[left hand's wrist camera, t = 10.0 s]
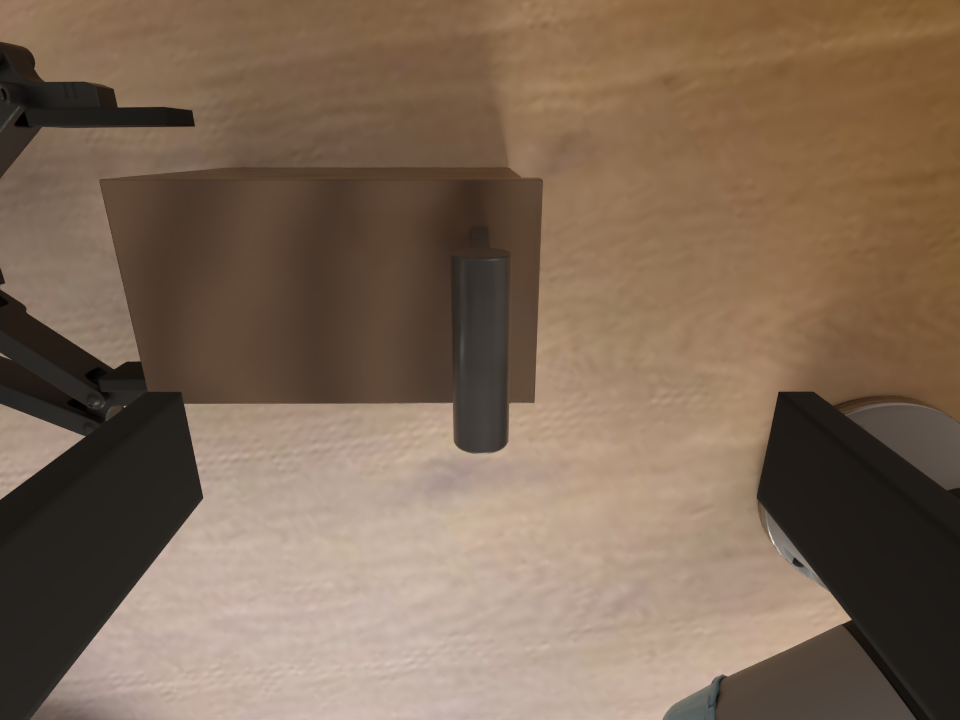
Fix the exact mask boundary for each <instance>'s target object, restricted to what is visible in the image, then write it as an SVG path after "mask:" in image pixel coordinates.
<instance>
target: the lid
mask: <svg viewBox="0 0 960 720" xmlns="http://www.w3.org/2000/svg"><path fill="white" fill-rule="evenodd" d="M100 186H101V190H102V194H103V199H104V203H105V207H106V212H107V216H108V220H109V225H110V229H111V233H112V238H113V242H114V246H115V251H116V255H117V260H118V264H119V268H120V273H121V277H122V281H123V286H124V290H125V294H126V299H127V303H128V307H129V312H130V316H131V320H132V325H133V329H134V333H135V338H136V342H137V346H138V351H139V355H140V360H141V364H142V368H143V373H144V377H145V381H146V386H147V390H148V392H181V393H182V398H183V403H184V404H448V403H453V426H454V442H455V444H456V446H457V447H458V448H459V449H461V450H463V451H465V452H469V453H473V454H489V453H494V452H497V451H499V450H501V449H503V448H504V447H505V446H506V445H507V443H508V431H509V403H534V400H535V374H536V347H537V321H538V295H539V268H540V242H541V216H542V189H543V180H542V179H540V178H110V179H101V180H100Z"/></svg>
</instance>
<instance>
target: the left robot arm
mask: <svg viewBox="0 0 960 720" xmlns="http://www.w3.org/2000/svg"><path fill="white" fill-rule="evenodd" d="M202 499H203V494H202V489H201V485H200V480H199V475H198V470H197V465H196V460H195V456H194V451H193V446H192V441H191V436H190V432H189V427H188V422H187V417H186V412H185V407H184V403H183V398H182V393H181V392H145V393H144V394H143V395H141V396H140V397H139V398H137V399H136V400H135V401H133V402H132V403H131V404H129V405H128V406H127V407H125V408H124V409H122V410H121V411H120V412H118V413H117V414H116V415H114V416H113V417H112V418H110V419H109V420H108V421H106V422H105V423H104V424H102V425H101V426H99V427H98V428H97V429H95V430H94V431H93V432H91V433H90V434H89V435H87V436H86V437H85V438H83V439H82V440H81V441H79V442H78V443H77V444H75V445H74V446H72V447H71V448H70V449H68V450H67V451H66V452H64V453H63V454H62V455H60V456H59V457H58V458H56V459H55V460H54V461H52V462H51V463H49V464H48V465H47V466H45V467H44V468H43V469H41V470H40V471H39V472H37V473H36V474H35V475H33V476H32V477H31V478H29V479H28V480H26V481H25V482H24V483H22V484H21V485H20V486H18V487H17V488H16V489H14V490H13V491H12V492H10V493H9V494H8V495H6V496H5V497H4V498H2V499H1V500H0V720H30V718H31V717H32V716H33V715H34V713H35V712H36V711H37V710H38V708H39V707H40V706H41V704H42V703H43V702H44V701H45V699H46V698H47V697H48V696H49V694H50V693H51V692H52V690H53V689H54V688H55V687H56V685H57V684H58V683H59V681H60V680H61V679H62V678H63V676H64V675H65V674H66V673H67V671H68V670H69V669H70V667H71V666H72V665H73V664H74V662H75V661H76V660H77V659H78V657H79V656H80V655H81V653H82V652H83V651H84V650H85V648H86V647H87V646H88V644H89V643H90V642H91V641H92V639H93V638H94V637H95V636H96V634H97V633H98V632H99V630H100V629H101V628H102V627H103V625H104V624H105V623H106V622H107V620H108V619H109V618H110V616H111V615H112V614H113V613H114V611H115V610H116V609H117V607H118V606H119V605H120V604H121V602H122V601H123V600H124V599H125V597H126V596H127V595H128V593H129V592H130V591H131V590H132V588H133V587H134V586H135V585H136V583H137V582H138V581H139V579H140V578H141V577H142V576H143V574H144V573H145V572H146V570H147V569H148V568H149V567H150V565H151V564H152V563H153V562H154V560H155V559H156V558H157V556H158V555H159V554H160V553H161V551H162V550H163V549H164V548H165V546H166V545H167V544H168V542H169V541H170V540H171V539H172V537H173V536H174V535H175V533H176V532H177V531H178V530H179V528H180V527H181V526H182V525H183V523H184V522H185V521H186V519H187V518H188V517H189V516H190V514H191V513H192V512H193V511H194V509H195V508H196V507H197V505H198V504H199V503H200V502H201V500H202ZM757 499H758V508H759V515H760V520H761V523H762V526H763V528H764V531H765V533H766V534H767V536H768V538H769V539H770V541H771V542H772V543H773V545H774V546H775V547H776V549H777V550H778V551H779V553H780V554H781V555H782V556H783V557H784V558H785V559H786V560H787V561H788V562H789V563H790V564H791V565H792V566H793V567H794V568H796V569H797V570H798V571H799V572H801V573H802V574H804V575H805V576H807V577H809V578H810V579H812V580H814V581H815V582H817V583H818V584H819V585H821V586H822V587H824V588H825V589H827V590H828V591H830V592H831V593H832V595H833V596H834V597H835V599H836V600H837V601H838V602H839V604H840V605H841V606H842V607H843V609H844V610H845V611H846V613H847V614H848V615H849V616H850V618H851V619H852V620H851V621H848V622H846V623H844V624H842V625H838V626H836V627H834V628H832V629H830V630H828V631H826V632H824V633H822V634H820V635H818V636H816V637H813V638H811V639H809V640H807V641H805V642H803V643H801V644H799V645H797V646H795V647H793V648H790V649H788V650H786V651H784V652H782V653H779V654H777V655H775V656H773V657H770V658H768V659H766V660H764V661H762V662H759V663H757V664H755V665H753V666H750V667H748V668H746V669H744V670H742V671H739V672H737V673H735V674H733V675H730V676H728V677H727V676H725V675H720V676H718V677H716V678H714V680H713V681H712V683H711V685H709V686H707V687H705V688H703V689H701V690H700V691H698V692H696V693H694V694H692V695H690V696H689V697H687V698H685V699H683V700H681V701H679V702H678V703H676V704H674V705H673V706H672V707H671V708H670V709H669V710H668V711H667V712H666V714H665V716H664V718H663V720H960V423H959V422H957V421H956V420H955V419H953V418H952V417H950V416H948V415H947V414H945V413H943V412H941V411H940V410H938V409H936V408H934V407H932V406H931V405H929V404H926V403H924V402H921V401H918V400H914V399H911V398H905V397H896V396H878V397H869V398H863V399H858V400H854V401H851V402H847V403H844V404H842V405H839V406H836V407H833V406H832V405H831V404H829V403H828V402H827V401H825V400H824V399H823V398H821V397H820V396H819V395H817V394H816V393H815V392H779V393H778V398H777V403H776V407H775V412H774V417H773V422H772V427H771V431H770V436H769V441H768V446H767V451H766V456H765V460H764V465H763V470H762V475H761V480H760V485H759V489H758V494H757Z"/></svg>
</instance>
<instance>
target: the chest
mask: <svg viewBox="0 0 960 720" xmlns="http://www.w3.org/2000/svg"><path fill="white" fill-rule="evenodd" d="M121 178H522V177H520V176H519V175H518V174H516V173H515V172H514V171H512V170H511V169H510V168H220V169H209V170H198V171H187V172H176V173H165V174H154V175H143V176H132V177H121Z"/></svg>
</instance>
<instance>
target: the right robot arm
mask: <svg viewBox="0 0 960 720" xmlns="http://www.w3.org/2000/svg"><path fill="white" fill-rule="evenodd" d="M34 67H35V59H34V57H33V55H32V53H31V52H30V51H29V50H28V49H26V48H24V47H22V46H18V45H13V44H8V43H4V42H0V178H1V177H2V176H3V174H4V173H5V172H6V171H7V169H8V168H9V167H10V166H11V164H12V163H13V162H14V161H15V160H16V158H17V157H18V156H19V155H20V153H21V152H22V151H23V150H24V148H25V147H26V146H27V145H28V144H29V142H30V141H31V140H32V139H33V137H34V136H35V135H36V134H37V133H38V131H39V130H40V129H41V128H42V127H61V128H96V127H189V126H195V124H194V119H193V113H192V110H184V109H176V108H168V107H126V108H118V107H117V102H116V98H115V93H114V89H112V88H109V87H107V86H104V85H101V84H94V83H88V82H44V81H43V80H42V79H41V78H40V77H39V76H38V74H37V73H36V71H35V70H34ZM4 283H5V281H4V278H3V275H2V271H1V269H0V285H1V284H4ZM0 353H2V354H4V355H5V356H7V357H8V358H10V359H12V360H10V359H7V358H4V357H1V356H0V404H3V405H5V406H8V407H11V408H13V409H16V410H18V411H21V412H24V413H26V414H29V415H31V416H34V417H37V418H39V419H42V420H44V421H47V422H50V423H52V424H55V425H58V426H60V427H63V428H65V429H68V430H71V431H73V432H76V433H78V434H81V435H84V436H87V435H89V434H90V433H91V432H93V431H94V430H95V429H97V428H98V427H99V426H101V425H102V424H104V423H105V422H106V421H108V420H109V419H110V418H112V417H113V416H114V415H116V414H117V413H118V412H120V411H121V410H122V409H124V407H123V406H128V405H129V404H131V403H132V402H133V401H135V400H136V399H137V398H139V397H140V396H141V395H143V394H144V393H145V392H148V390H147V386H146V381H145V377H144V373H143V368H142V364H141V362H126V363H124V364H122V365H121V366H119V367H117V368H116V369H112V368H111V367H109V366H108V365H106V364H104V363H103V362H101V361H100V360H98V359H97V358H95V357H94V356H92V355H91V354H89V353H87V352H86V351H84V350H83V349H81V348H80V347H78V346H77V345H75V344H74V343H72V342H70V341H69V340H67V339H66V338H64V337H63V336H61V335H60V334H58V333H57V332H55V331H53V330H52V329H50V328H49V327H47V326H46V325H44V324H43V323H41V322H39V321H38V320H36V319H35V318H33V317H32V316H30V315H29V314H27V313H26V307H25V306H24V305H23V304H22V303H20V302H19V301H17V300H16V299H14V298H13V297H11V296H10V295H8V294H6V293H5V292H3V291H2V290H0Z"/></svg>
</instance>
